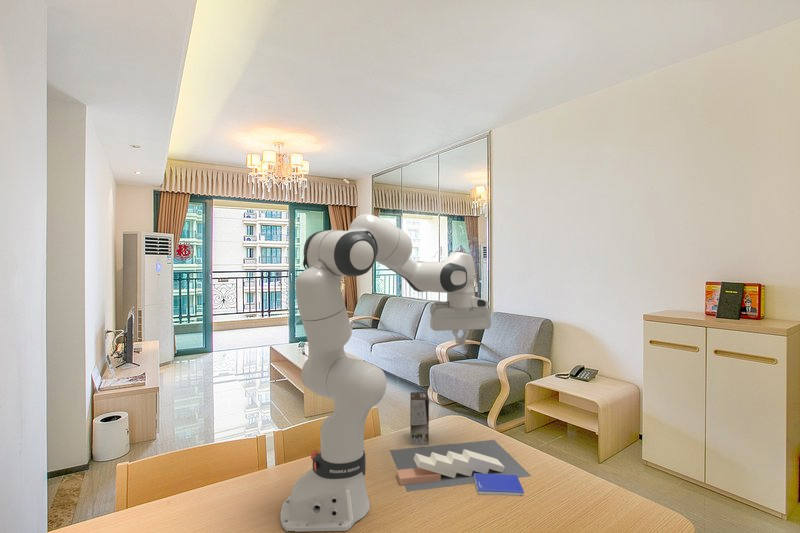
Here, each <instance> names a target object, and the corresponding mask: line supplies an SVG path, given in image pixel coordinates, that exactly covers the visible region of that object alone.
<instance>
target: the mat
mask: <svg viewBox="0 0 800 533" xmlns="http://www.w3.org/2000/svg"><path fill="white" fill-rule="evenodd" d="M464 449H465V450H469V451H472V452H475V453H479V454H482V455H485V456H489V457H492V458H495V459H498V460H499V461H500V463H501V464H502V465H503V466H504V467H505V468H504V471H503V473H502V472H499V471H495V470H492V469H489V471H488V474H502V475H517V477H518V479H519V478H527V477H532V475H531V474H530V473H529V472H528V470H526V468H525V467H523V466H522V465H521V464H520V463H519V462H518V461H517V460H515V458H514V457H513V456H511V454H509V453H508V452H507V451H506V450H505V449H504V448H503V447H502V445H500V443H498V442H497V441H496V440H494V439H489V440H479V441H470V442H469V441H468V442H459V443H458V442H457V443H449V444H448V443H447V444H439V445H426V446H419V447H408V448H400V449H399V448H397V449H389V452H390V454H391V457H392V460H393V461H394V465H395V467H396V468H397V469H396V470H402V469H411V468H419V467H417V465H416V463H415V461H414V456H415V454H416V453H417V454H420V455H423V456H426V457H430V456H431V453H432V452H434V453H437V454H440V455H443V456H446V455H447V452H448V451H451V452H454V453H458V454H461V455H462V452H463V450H464ZM474 473H479V474H483V473H480V472H476V471H473V472H472V475H471V477H470V476H467V475H463V474H460V473H456V476H455V478H452V477H448V476H445V475H442V474H441V480H440V481H432V482H423V483H415V484H407V485H404V487H405V490H406V492H416V491H417V492H418V491H424V490H425V491H426V490H431V489H440V488H447V487H448V488H449V487H456V486H462V485H463V486H464V485H471V484H472V485H473V484H475V481H474Z"/></svg>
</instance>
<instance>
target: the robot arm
mask: <svg viewBox="0 0 800 533" xmlns="http://www.w3.org/2000/svg"><path fill="white" fill-rule="evenodd" d="M412 250H413V242H412V239H411V237H410V236H409V234H407V233H406V232H405V231H404V230H403V229H401V228H399V227H398V226H396V225H395V224H393V223H391V222H390V221H388V220H386V219H384V218H381V217H380V216H376V215H374V214H371V213H363V214H359V215H358V216H356V217H355V218H354V219H353V220H352V221H351V222H350V225H349V228H348V230H342V229H329V230H326V229H325V230H324V229H322V230H319V231H316V232H314V233H312V234H311V235H309V236H308V238H307V239H306V240H305V243H304V245H303V260H302V265H303V268H304V270H303V271H301V272H300V273H298V275H297V277H296V278H295V283H294V286H295V294H296V295H295V296H296V304H297V307H298V312H299V316H300V319H301V322H302V326H303V329H304V333H305V336H306V340H307V345H308V358H306V360H305V362H304V363H303V366H302V368H301V371H300V372H301V375H300V376H301V377H300V378H301V382H302V384H303V386H304V387H306V388H307V389H308V390H309V391H310V392H312V393H314V394H316V395H318V396H321V397H324V398H327V399H331V400H333V402H334V409H333V413H332V414H330V415H329V416H327V417H326V418H325V419H324V420H323V421H322V423H321V427H320V452H319V451H318V450H315V449H314V450H312V451H311V452H310V459H311V460H312V468H311V469H310V470H308V471H307V472H306V473H305V474H303V475H302V476H300V477H299V478H298V479H297V480H296V481H295V483H294V484H293V487H292V488H291V492H290V495H289V496H288V497H287V498H286V499H285V500H284V501H283V503H282V505H281V509H280V515H279V516H280V518H279V521H280V525H281V527H282V529H283V528H284V529H285V532H288V531H295V532H304V533H305V532H347V531H349V530H351V528H352V527H353V526H354V524H355V523H357V522H358V521H360V520H362V519H363V518H365V516H366V515H367V514H368V513H369V511H370V507H371V502H370V500H369V495H368V492H367V485H366V484H367V483H366V478H365V475H366V469H367V457H366V451H365V445H364V444H365V427H366V426H365V425H366V421H367V417H368V415H369V413H370V411H371V410H372V408H373V407H374V406H377V405H378V404H379V403H380V401H382V400H383V398H384V396H385V394H386V391H387V377H386V374H385V372H384V370H383V369H382V368H380V367H378V366H376V365H375V364H373V363H370V362H369V361H366V360H361V359H356V358H351V357H349V356H347V354H346V352H345V348H344V346H346V344H348V343H349V340H350V338H351V337H352V332H353V328H352V326H351V322H350V318H349V314H348V310H347V307H346V303H345V300H344V296H343V294H342V286H341V285H342V283H341V282H342V279H343V276H346V277H353V278H354V277H359V276H362V275H365V274H367V273H369V271H370V270H371V269H372V268H373V267H374V264H375V262H376V263H378V264H381V265H383V266H385V267H386V268H387V269H389V270H391V271H392V272H394V273H395V274H397V275H399V276H400V277H401V278H403V279H404V280H405V281H406V282H407V283H408V285H409V286H410V287H411V289H412V290H414V291H415V292H418V293H426V292H431V293H445V294H447V296H446V298H447V299H446V300H447V301H434V303H431V305H430V308H429V309H430V310H429V311H430V314H431V316H430V321H429V322H430V323H429V327H430V328H431V330H432V331H435V332H442V331H451V333H452V334H453V336H454V339H455V344H457V345H459V344H460V345H461V344H462V345H463V344H465V345H466V343H467V338H468V336H469V334H470V331H471V330H490V328H491V327H492V315H491V311H490V308H489V304H490V302H489V301H488V300H486V299H484V298H481V297H478V296H476V295H475V288H474V282H475V263H474V258H473V255H471V253H469V252H466V251H459V250H458V251H457V250H456V251H451V252H450V253H449V255H448V256H447V257H446V258H445V259H443V260H440V261H415V260H413V259H411V258H410V257H411V255H412V252H413V251H412ZM460 331H462V332H463V335H462V336H461V337H459V335H458V334H459V332H460ZM284 529H283V530H284Z"/></svg>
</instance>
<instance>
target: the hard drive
mask: <svg viewBox="0 0 800 533" xmlns="http://www.w3.org/2000/svg"><path fill="white" fill-rule="evenodd" d="M474 481H475V483H474V484H475V488H476V493H477V495H490V496H491V495H494V496H525V491H524V488H523V486H522V483H521V482H520V481H521V480H519V478H518V477H517V475H502V474H479V473H474Z"/></svg>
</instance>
